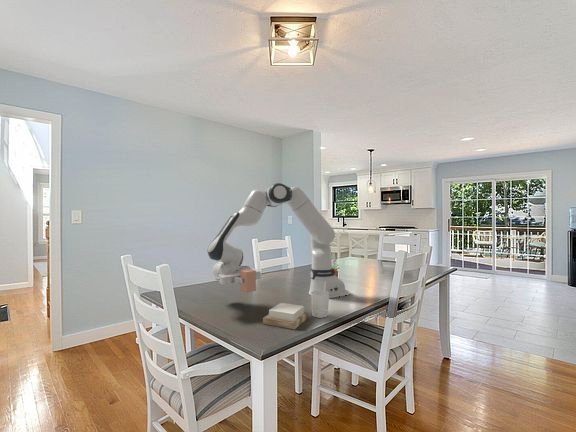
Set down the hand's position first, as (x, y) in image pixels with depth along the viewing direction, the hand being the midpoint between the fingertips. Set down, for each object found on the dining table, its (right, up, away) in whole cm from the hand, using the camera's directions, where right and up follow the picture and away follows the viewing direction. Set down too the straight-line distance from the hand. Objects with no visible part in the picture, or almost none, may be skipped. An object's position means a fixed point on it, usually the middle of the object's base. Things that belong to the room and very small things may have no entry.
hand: (249, 279), depth 134 cm
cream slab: (+17, -13, -9) cm, 23 cm away
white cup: (+31, -15, -2) cm, 35 cm away
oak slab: (+16, -16, -9) cm, 24 cm away
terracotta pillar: (-1, -5, +1) cm, 5 cm away
